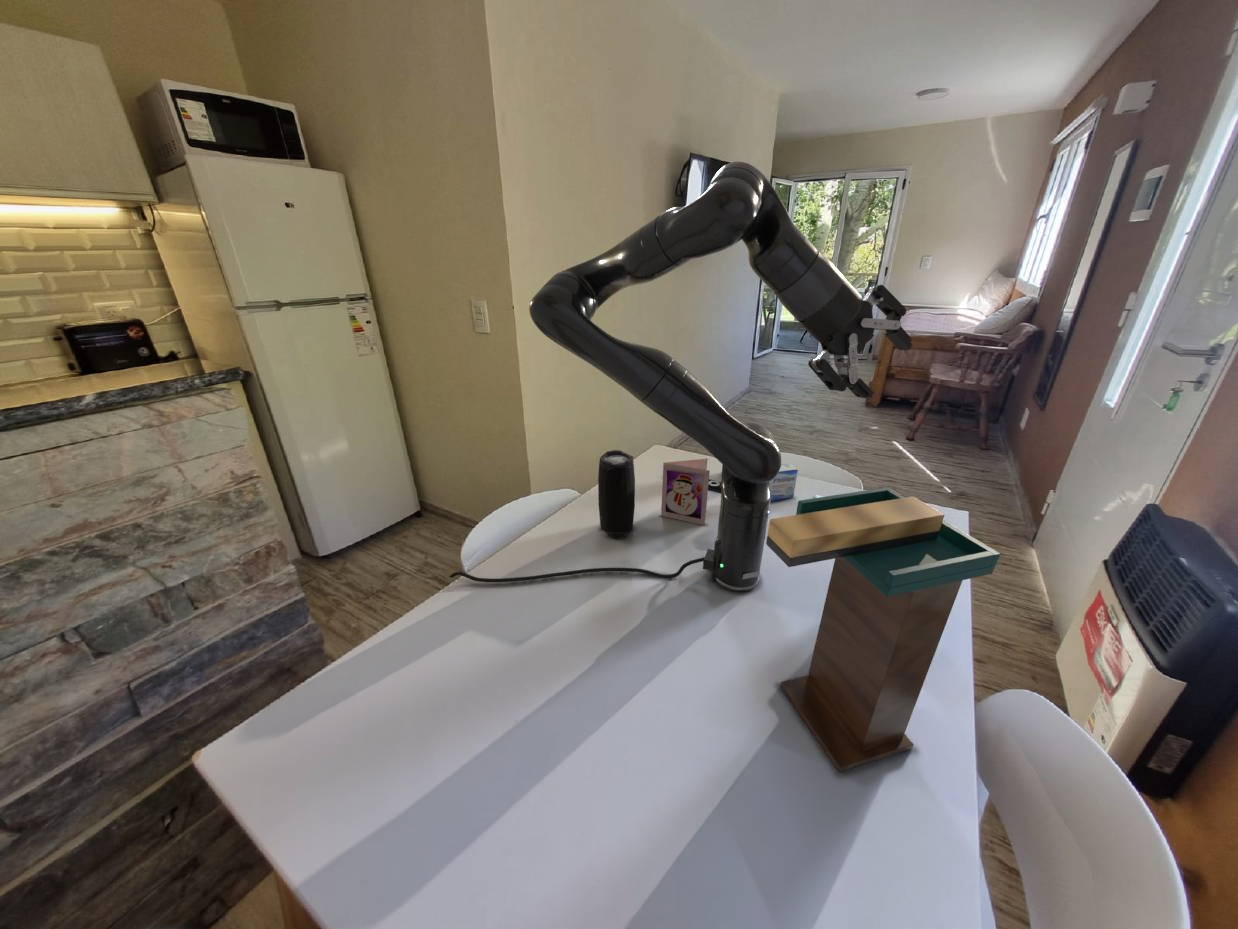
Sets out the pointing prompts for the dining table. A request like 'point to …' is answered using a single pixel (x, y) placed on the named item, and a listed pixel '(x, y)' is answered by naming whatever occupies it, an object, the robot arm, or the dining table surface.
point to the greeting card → (685, 490)
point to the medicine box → (784, 483)
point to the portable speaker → (616, 493)
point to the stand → (868, 666)
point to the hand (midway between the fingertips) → (887, 372)
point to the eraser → (852, 530)
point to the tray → (911, 551)
